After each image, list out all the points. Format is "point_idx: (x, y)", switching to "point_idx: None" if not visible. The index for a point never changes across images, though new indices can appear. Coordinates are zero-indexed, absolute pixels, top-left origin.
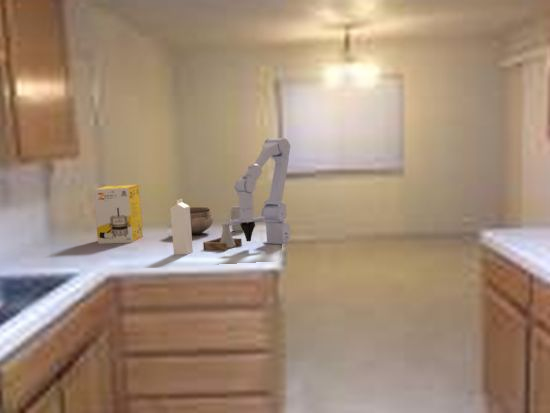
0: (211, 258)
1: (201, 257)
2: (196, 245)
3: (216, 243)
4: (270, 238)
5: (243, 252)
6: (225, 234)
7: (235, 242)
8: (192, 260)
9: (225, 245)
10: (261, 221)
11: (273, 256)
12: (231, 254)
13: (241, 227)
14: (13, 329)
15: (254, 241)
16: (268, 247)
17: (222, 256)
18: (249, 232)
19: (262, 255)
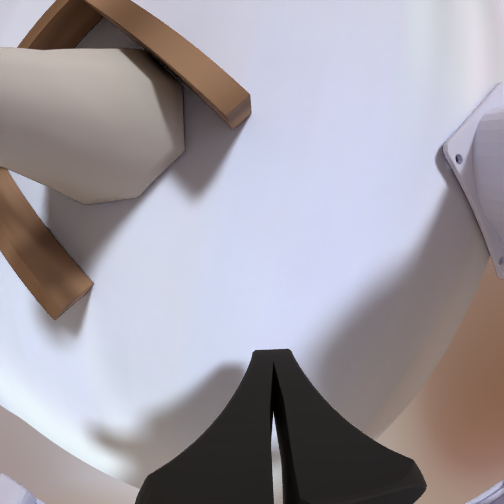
0: (58, 421)
1: (17, 377)
2: (12, 10)
3: (4, 252)
4: (502, 211)
5: (201, 410)
6: (11, 170)
7: (186, 83)
8: (10, 399)
9: (66, 308)
10: (490, 495)
11: None
12: (130, 415)
13: (174, 468)
14: None
15: (394, 4)
16: (408, 335)
17: (93, 422)
18: (282, 468)
19: (274, 482)
